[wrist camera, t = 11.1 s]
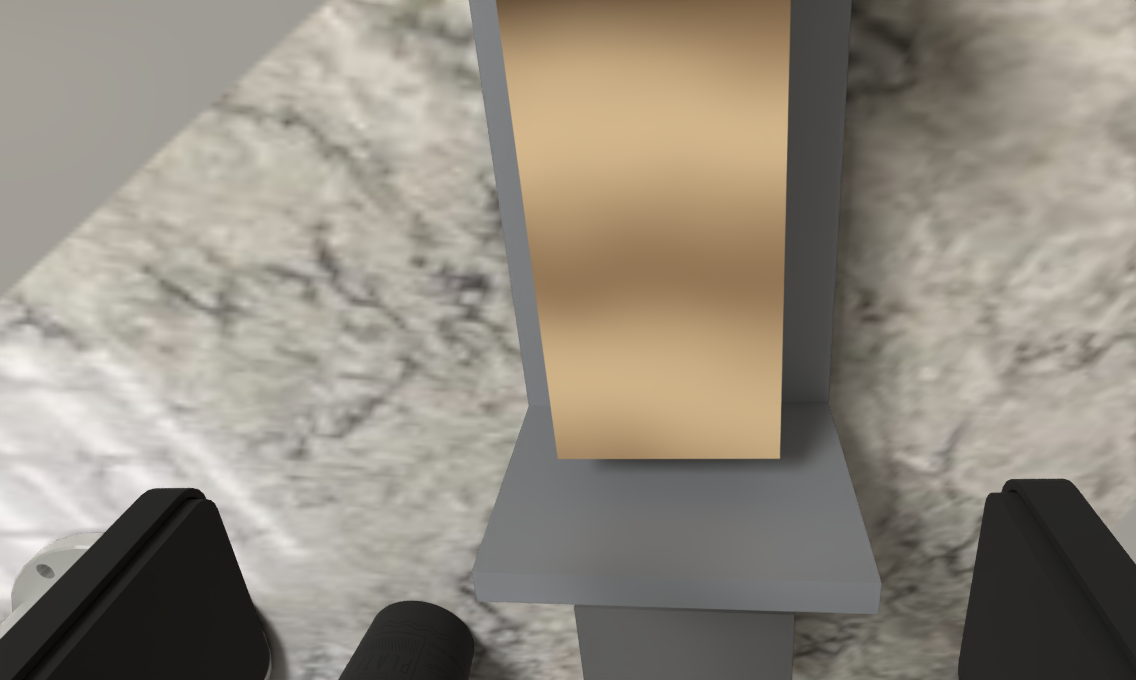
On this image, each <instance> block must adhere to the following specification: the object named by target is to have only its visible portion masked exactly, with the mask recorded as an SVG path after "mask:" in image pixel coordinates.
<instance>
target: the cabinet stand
mask: <svg viewBox="0 0 1136 680" xmlns="http://www.w3.org/2000/svg"><path fill="white" fill-rule="evenodd" d="M469 4H470V11H471V18H472V25H473V31H474V38H475V45H476V52H477V59H478V65H479V72H480V79H481V86H482V92H483V99H484V106H485V113H486V119H487V126H488V133H489V140H490V146H491V153H492V160H493V167H494V174H495V180H496V187H497V194H498V201H499V207H500V214H501V221H502V228H503V234H504V241H505V248H506V255H507V261H508V268H509V275H510V282H511V288H512V295H513V302H514V309H515V316H516V322H517V329H518V336H519V343H520V349H521V356H522V363H523V370H524V376H525V383H526V390H527V397H528V403H529V407H528V410H527V413H526V416H525V419H524V422H523V424H522V427H521V430H520V433H519V436H518V439H517V442H516V445H515V448H514V451H513V453H512V456H511V459H510V462H509V465H508V468H507V471H506V474H505V477H504V480H503V482H502V485H501V488H500V491H499V494H498V497H497V500H496V503H495V506H494V509H493V511H492V514H491V517H490V520H489V523H488V526H487V529H486V532H485V535H484V538H483V541H482V543H481V546H480V549H479V552H478V555H477V558H476V561H475V564H474V567H473V570H472V572H471V573H472V578H473V583H474V587H475V592H476V597H477V601H484V602H515V603H545V604H576V605H606V606H637V607H668V608H698V609H729V610H760V611H790V612H821V613H851V614H878V612H879V603H880V594H881V585H882V583H881V580H880V576H879V573H878V569H877V566H876V563H875V559H874V556H873V552H872V549H871V546H870V542H869V539H868V535H867V532H866V529H865V525H864V522H863V518H862V515H861V512H860V508H859V505H858V501H857V498H856V495H855V491H854V488H853V484H852V481H851V478H850V474H849V471H848V467H847V464H846V461H845V457H844V454H843V450H842V447H841V444H840V440H839V437H838V433H837V430H836V427H835V423H834V420H833V416H832V413H831V410H830V406H829V403H828V400H829V383H830V366H831V349H832V331H833V314H834V297H835V280H836V263H837V246H838V229H839V212H840V195H841V178H842V160H843V143H844V126H845V109H846V92H847V75H848V58H849V41H850V24H851V6H852V0H791V9H790V51H789V93H788V136H787V178H786V221H785V263H784V305H783V348H782V390H781V433H780V459H558V457H557V450H556V442H555V435H554V427H553V420H552V413H551V405H550V398H549V390H548V383H547V376H546V368H545V361H544V353H543V346H542V339H541V331H540V324H539V316H538V309H537V302H536V294H535V287H534V279H533V272H532V265H531V257H530V250H529V243H528V235H527V228H526V220H525V213H524V206H523V198H522V191H521V183H520V176H519V169H518V161H517V154H516V146H515V139H514V132H513V124H512V117H511V109H510V102H509V95H508V87H507V80H506V72H505V65H504V58H503V50H502V43H501V35H500V28H499V21H498V13H497V6H496V0H469Z"/></svg>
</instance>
